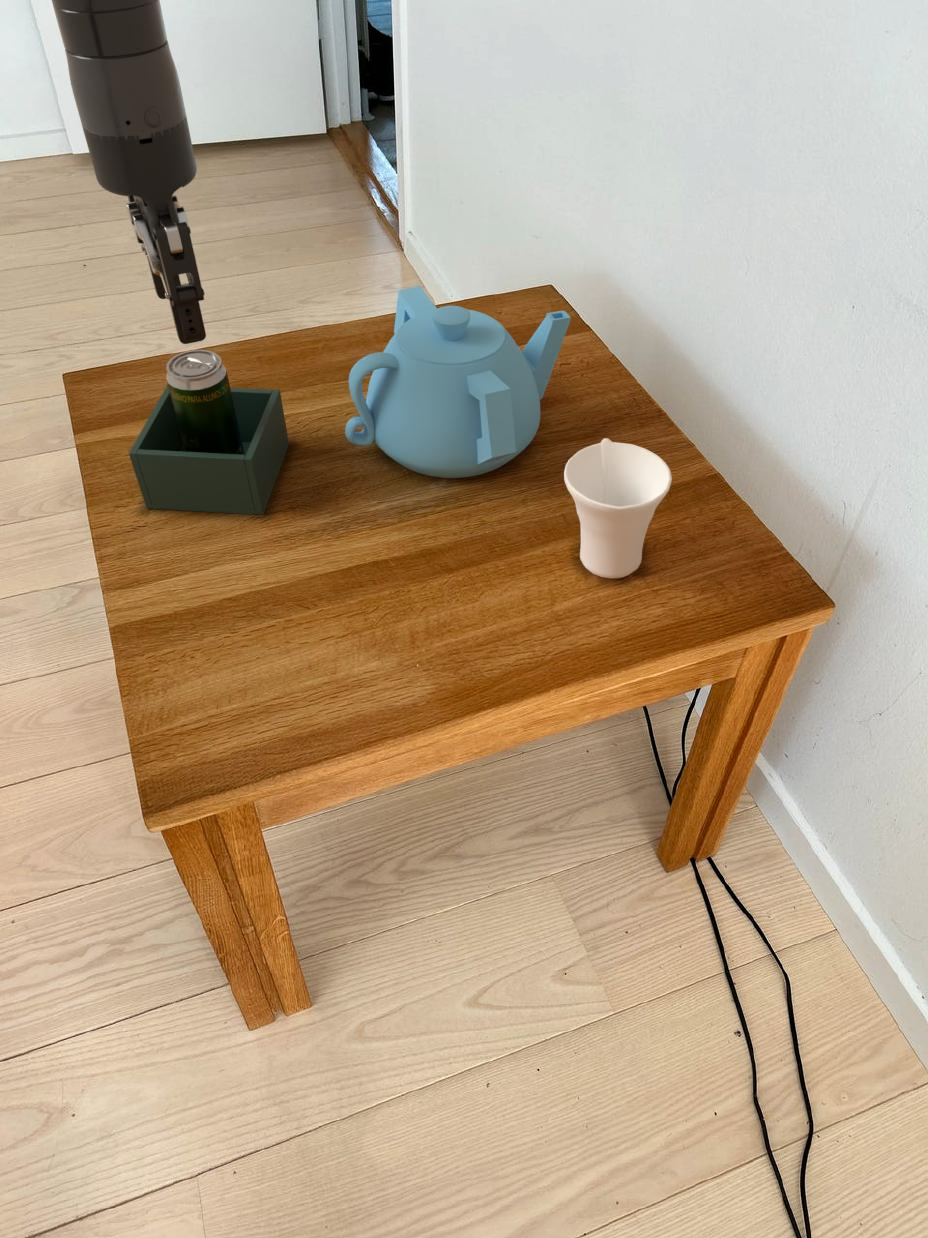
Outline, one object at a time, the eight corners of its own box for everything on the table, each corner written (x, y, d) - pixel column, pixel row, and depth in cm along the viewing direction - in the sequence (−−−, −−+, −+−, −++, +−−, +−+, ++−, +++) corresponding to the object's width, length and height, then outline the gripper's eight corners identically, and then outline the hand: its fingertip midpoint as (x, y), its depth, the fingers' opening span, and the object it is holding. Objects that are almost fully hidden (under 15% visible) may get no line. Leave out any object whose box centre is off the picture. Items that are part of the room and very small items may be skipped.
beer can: (256, 461, 93) (235, 353, 84) (230, 493, 89) (205, 384, 81) (209, 450, 94) (183, 344, 85) (181, 482, 91) (151, 374, 82)
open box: (146, 508, 89) (128, 453, 84) (181, 438, 97) (167, 384, 92) (263, 515, 88) (251, 459, 83) (289, 444, 96) (280, 389, 91)
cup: (643, 522, 87) (659, 433, 80) (664, 591, 81) (684, 502, 73) (550, 526, 87) (557, 437, 79) (563, 596, 80) (572, 507, 73)
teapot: (500, 509, 88) (504, 382, 78) (324, 462, 94) (307, 338, 84) (565, 405, 100) (576, 284, 91) (406, 369, 106) (400, 250, 96)
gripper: (65, 92, 72) (121, 291, 83) (97, 153, 63) (155, 367, 74) (163, 79, 74) (204, 274, 86) (207, 137, 65) (246, 346, 77)
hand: (181, 317), depth 80 cm, fingers open, 8 cm apart
